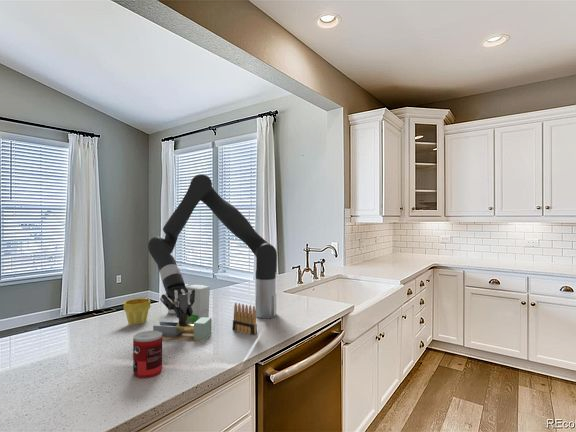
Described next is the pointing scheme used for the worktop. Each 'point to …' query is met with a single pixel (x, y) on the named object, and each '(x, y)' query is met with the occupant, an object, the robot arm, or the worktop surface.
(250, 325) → the ammunition clip
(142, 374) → the canned food
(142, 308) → the plant pot
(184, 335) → the oak board
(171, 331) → the grey bolt guide channel
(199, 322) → the socket block
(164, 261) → the robot arm
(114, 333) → the worktop surface
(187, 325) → the slide bolt
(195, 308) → the skincare box
